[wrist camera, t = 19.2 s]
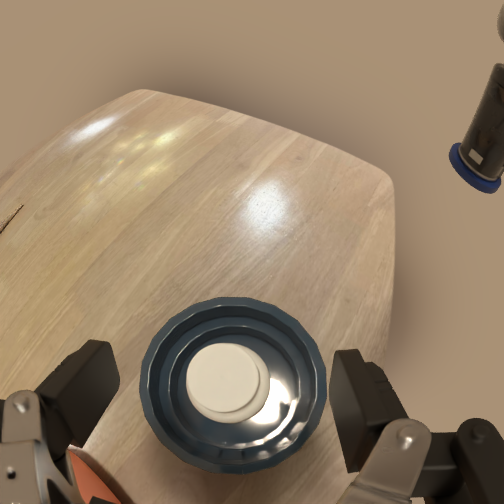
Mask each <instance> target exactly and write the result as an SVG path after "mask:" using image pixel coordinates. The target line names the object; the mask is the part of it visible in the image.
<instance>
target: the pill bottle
mask: <svg viewBox="0 0 504 504" xmlns="http://www.w3.org/2000/svg"><path fill="white" fill-rule="evenodd" d="M270 384H271V382H270V375H269V371H268V369H267V367H266V365H265V363H264V361H263V360H262V359H261V358H260V357H259V355H257V354H256V353H255V352H254V351H252V350H251V349H249V348H247V347H244V346H242V345H238V344H232V343H217V344H213V345H209V346H207V347H205V348H203V349H202V350H200V351H199V352H198V353H197V354H196V355H195V356H194V357H193V359H192V360H191V362H190V364H189V367H188V370H187V379H186V387H187V393H188V396H189V398H190V400H191V402H192V404H193V405H194V407H195V408H196V409H197V410H198V411H199V412H200V413H201V414H203V415H204V416H205V417H207V418H209V419H211V420H214V421H216V422H221V423H238V422H242V421H245V420H247V419H249V418H251V417H253V416H255V415H256V414H257V413H258V412H259V411H260V410H261V409H262V408H263V406H264V405H265V403H266V401H267V399H268V397H269V393H270Z"/></svg>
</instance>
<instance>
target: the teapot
mask: <svg viewBox="0 0 504 504" xmlns="http://www.w3.org/2000/svg"><path fill="white" fill-rule="evenodd" d="M68 451H69V450H68ZM69 453H70V457H71V461H72V465H73V470H74V474H75V477H76V481H77V485H78V488H79V491H80V494H81V496H82V498H83V500H84V501H85V503H86V504H89V502H90V500H91V498H92V496H95V497H98V498H101V499H104V500H106V501H109V502H113V503H116V504H121V503H120V501H119V500H118V499H117V498H116V497H115V495H114V494H113V493H112V492H111V491H110V489H109V488H108V487H107V486H106V485H105V484H104V483H103V482H102V480H101V479H100V478H99V477H98V476H97V475H96V474H95V473H94V472H93V471H92V470H91V469H90V468H89V467H88V466H87V465H86V464H85V463H84V462H83V461H82V460H81V459H80V458H79V457H78V456H76V455H75V454H74V453H72V452H71V451H69Z"/></svg>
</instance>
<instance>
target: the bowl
mask: <svg viewBox="0 0 504 504" xmlns="http://www.w3.org/2000/svg"><path fill="white" fill-rule="evenodd" d="M217 343H232V344H238V345H242V346H244V347H247V348H249V349H251V350H252V351H254V352H255V353H256V354H257V355H259V357H260V358H261V359H262V360H263V361H264V363H265V365H266V367H267V369H268V371H269V375H270V382H271V384H270V393H269V397H268V399H267V401H266V403H265V405H264V406H263V408H262V409H261V410H260V411H259V412H258V413H257V414H256V415H255V416H253V417H251V418H249V419H247V420H245V421H242V422H238V423H221V422H216V421H214V420H211V419H209V418H207V417H205V416H204V415H203V414H201V413H200V412H199V411H198V410H197V409H196V408H195V407H194V405H193V404H192V402H191V400H190V398H189V396H188V393H187V387H186V379H187V370H188V367H189V364H190V362H191V360H192V359H193V357H194V356H195V355H196V354H197V353H198V352H199V351H200V350H202V349H203V348H205V347H207V346H209V345H213V344H217ZM139 393H140V398H141V402H142V406H143V411H144V415H145V417H146V420H147V421H148V423H149V425H150V426H151V428H152V430H153V431H154V433H155V434H156V436H157V438H158V439H159V441H160V442H161V443H162V444H163V445H164V446H165V447H167V448H168V449H169V450H170V451H171V452H172V453H174V454H175V455H176V456H177V457H178V458H180V459H181V460H182V461H184V462H186V463H188V464H190V465H193V466H195V467H198V468H200V469H203V470H206V471H208V472H211V473H212V472H213V473H220V474H236V475H243V474H244V475H245V474H249V473H253V472H257V471H261V470H265V469H268V468H272V467H274V466H276V465H278V464H279V463H281V462H282V461H284V460H285V459H287V458H288V457H290V456H291V455H293V454H294V453H296V452H297V451H299V450H300V449H301V448H302V446H303V445H304V444H305V442H306V441H307V440H308V438H309V437H310V436H311V435H312V433H313V432H314V430H315V429H316V428H317V426H318V424H319V421H320V418H321V415H322V412H323V409H324V406H325V402H326V399H327V398H326V397H327V382H326V367H325V365H324V362H323V360H322V357H321V354H320V352H319V349H318V347H317V344H316V343H315V341H314V340H313V339H312V337H311V336H310V335H309V334H308V333H307V331H306V330H305V329H304V328H303V326H302V325H301V324H300V323H299V322H298V321H297V320H296V319H295V318H293V317H292V316H290V315H289V314H287V313H285V312H284V311H282V310H281V309H279V308H278V307H276V306H275V305H272V304H268V303H265V302H262V301H258V300H255V299H252V298H249V297H248V298H247V297H218V298H214V299H211V300H207V301H204V302H200V303H196V304H194V305H191V306H190V307H188V308H187V309H185V310H183V311H182V312H180V313H178V314H177V315H175V316H174V317H172V318H171V319H169V320H168V322H167V323H166V324H165V325H164V326H163V327H162V328H161V329H160V331H159V332H158V333H157V334H156V335H155V336H154V337H153V339H152V341H151V343H150V345H149V347H148V350H147V352H146V354H145V356H144V359H143V361H142V366H141V375H140V385H139Z"/></svg>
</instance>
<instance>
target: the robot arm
mask: <svg viewBox="0 0 504 504" xmlns="http://www.w3.org/2000/svg"><path fill="white" fill-rule="evenodd" d="M497 28H498V33H499V36H500V38H501V40H502V41H503V42H504V4H503V6H502V8H501V10H500V13H499V15H498V21H497ZM457 153H458V156H459V158H460V160H461V162H462V163H463V164H464V166H465V167H466V168H467V169H468V170H469V171H470V172H471V173H473V174H474V175H475V176H477V177H478V178H480V179H481V180H483V181H486V182H491V183H492V182H495V181H496V179H499V178H500V177H501V175H502V174H503V172H504V64H502V63H496V64H495V65H494V67H493V70H492V73H491V75H490V78H489V81H488V83H487V86H486V89H485V91H484V94H483V96H482V99H481V101H480V104H479V106H478V108H477V111H476V113H475V115H474V118H473V120H472V122H471V125H470V127H469V129H468V131H467V133H466V135H465V137H464V139H463V141H462V143H461V145H460V146H459V148H458V151H457ZM119 385H120V376H119V372H118V369H117V365H116V362H115V358H114V354H113V351H112V347H111V345H110V343H109V342H106V341H99V340H92V339H90V340H88V341H87V342H86V343H85V344H84V345H83V346H82V347H81V348H80V349H79V350H78V351H76V352H74V353H72V354H70V355H69V356H67V357H66V358H65V359H64V360H63V361H62V362H61V365H58V366H57V367H56V369H55V371H53V372H52V373H51V374H50V375H49V376H48V377H47V378H46V379H45V380H44V381H43V382H42V383H41V384H40V385H39V386H38V387H37V388H36V390H35V391H34V392H33V391H30V390H20V391H17V392H15V393H13V394H11V395H10V396H9V397H8V398H7V399H6V400H1V399H0V504H86V503H85V501H84V500H83V498H82V496H81V494H80V491H79V488H78V485H77V481H76V477H75V474H74V470H73V465H72V461H71V457H70V453H69V451H68V449H67V448H68V446H69V445H70V444H71V445H74V446H76V447H79V448H83V446H84V444H85V443H86V441H87V439H88V438H89V436H90V434H91V433H92V431H93V430H94V428H95V426H96V425H97V423H98V421H99V420H100V418H101V416H102V415H103V413H104V412H105V410H106V408H107V407H108V405H109V404H110V402H111V400H112V399H113V397H114V396H115V394H116V393H117V391H118V389H119ZM329 400H330V405H331V408H332V412H333V416H334V420H335V424H336V427H337V431H338V435H339V439H340V443H341V447H342V451H343V455H344V459H345V464H346V468H347V472H348V473H353V472H359V474H358V475H357V477H356V479H355V480H354V481H353V482H352V483H351V484H350V485H349V486H348V488H347V489H346V490H345V492H344V493H343V495H342V496H341V498H340V499H339V500H338V502H337V503H336V504H412V500H410V497H423V498H424V501H425V504H504V440H503V438H502V437H501V436H500V434H499V432H498V431H497V429H496V428H495V426H494V425H493V424H492V423H490V422H489V421H487V420H484V419H481V418H472V419H468V420H466V421H465V422H463V423H462V424H461V425H460V427H459V428H458V431H457V432H448V433H433V432H430V430H429V429H428V428H427V426H425V425H424V424H423V423H421V422H419V421H417V420H413V419H409V417H408V416H407V413H406V412H405V410H404V408H403V406H402V404H401V402H400V401H399V398H398V397H397V395H396V393H395V391H394V390H393V389H392V386H391V384H390V382H389V381H388V379H387V377H386V375H385V373H384V371H383V370H382V369H381V368H380V367H378V366H377V365H376V364H374V363H373V362H364V360H363V358H362V356H361V354H360V352H359V350H358V349H351V350H337V351H335V354H334V359H333V366H332V372H331V378H330V384H329ZM89 504H116V503H113V502H109V501H106V500H104V499H101V498H98V497H95V496H92V498H91V500H90V502H89Z"/></svg>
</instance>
